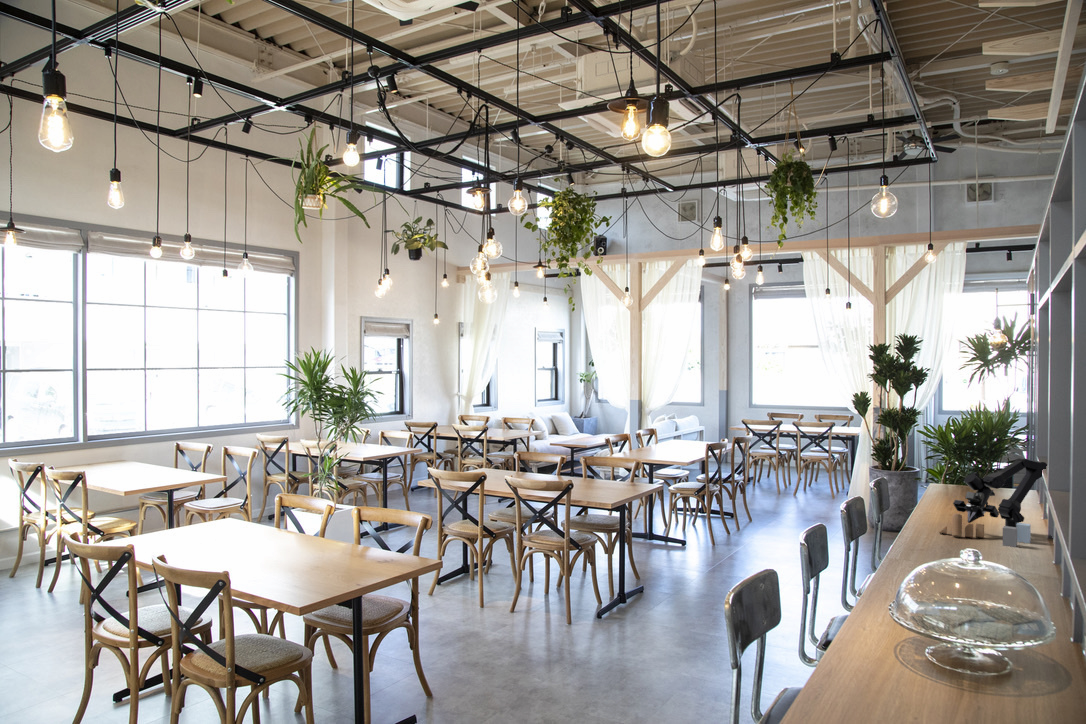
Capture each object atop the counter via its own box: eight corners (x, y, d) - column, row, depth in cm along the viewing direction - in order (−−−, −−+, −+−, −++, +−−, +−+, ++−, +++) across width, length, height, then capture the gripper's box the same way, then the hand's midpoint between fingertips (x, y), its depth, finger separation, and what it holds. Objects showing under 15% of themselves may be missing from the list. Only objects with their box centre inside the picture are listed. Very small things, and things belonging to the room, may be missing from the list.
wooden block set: (982, 543, 336) (982, 521, 340) (985, 539, 329) (985, 517, 332) (939, 537, 344) (939, 516, 347) (940, 533, 337) (940, 511, 340)
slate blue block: (1017, 539, 332) (1017, 522, 332) (1030, 541, 329) (1030, 524, 329) (1016, 541, 328) (1016, 524, 329) (1029, 543, 325) (1029, 525, 325)
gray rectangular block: (1003, 543, 325) (1004, 525, 325) (1017, 545, 322) (1017, 527, 322) (1002, 545, 321) (1002, 527, 321) (1016, 547, 318) (1016, 529, 318)
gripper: (955, 483, 349) (942, 507, 343) (995, 488, 333) (983, 514, 327) (964, 498, 353) (951, 522, 347) (1004, 504, 337) (992, 530, 331)
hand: (968, 522), depth 338 cm, fingers closed
